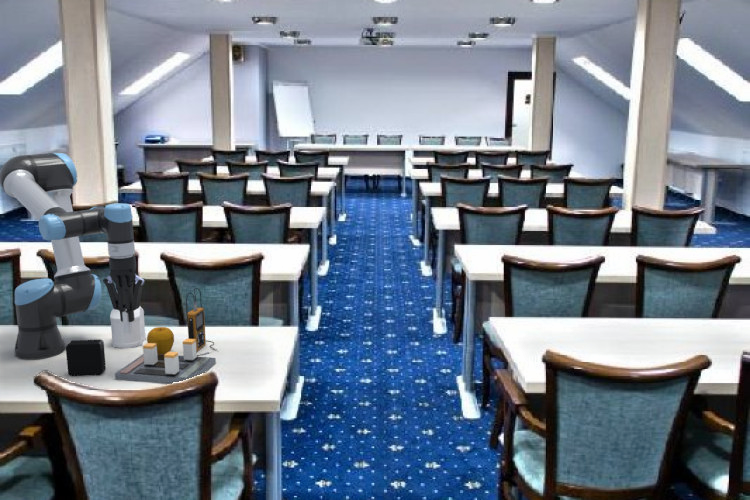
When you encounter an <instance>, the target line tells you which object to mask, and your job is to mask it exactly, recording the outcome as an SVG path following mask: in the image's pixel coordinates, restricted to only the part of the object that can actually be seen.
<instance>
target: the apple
mask: <svg viewBox="0 0 750 500" xmlns="http://www.w3.org/2000/svg"><path fill="white" fill-rule="evenodd" d="M174 335H175V334H174V332H173V331H172V330H171V329H170V328H169V327H166V326H159V327H158V326H157V327H154V328H152V329H151V330H149V332H148V334H147V335H146V342H147V343H156V344H157V354H166V353H168V352H172V349H173V346H174V341H175V336H174ZM147 343H146V344H147Z"/></svg>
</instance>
